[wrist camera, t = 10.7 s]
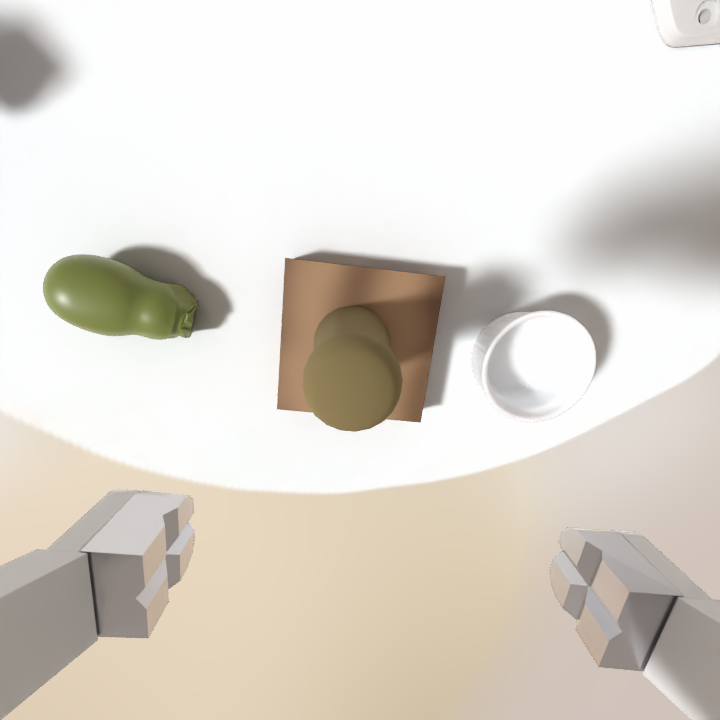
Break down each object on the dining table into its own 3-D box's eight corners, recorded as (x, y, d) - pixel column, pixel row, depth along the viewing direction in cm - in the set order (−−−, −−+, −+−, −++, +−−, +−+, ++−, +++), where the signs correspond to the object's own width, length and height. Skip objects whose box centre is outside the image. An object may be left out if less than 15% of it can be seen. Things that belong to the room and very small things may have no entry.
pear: (28, 240, 21) (196, 292, 24) (78, 243, 26) (212, 285, 29) (19, 324, 23) (179, 364, 25) (68, 311, 28) (198, 345, 30)
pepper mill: (301, 322, 26) (267, 358, 16) (374, 293, 26) (391, 310, 15) (330, 391, 28) (318, 466, 17) (400, 365, 27) (432, 425, 17)
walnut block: (437, 276, 28) (445, 276, 26) (415, 410, 31) (420, 422, 29) (291, 259, 27) (285, 258, 25) (283, 398, 30) (277, 409, 28)
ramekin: (521, 283, 28) (551, 285, 24) (583, 354, 30) (620, 368, 26) (443, 356, 30) (458, 371, 26) (506, 420, 32) (530, 443, 27)
